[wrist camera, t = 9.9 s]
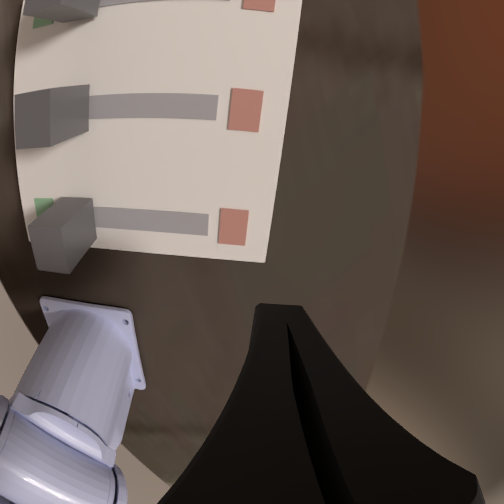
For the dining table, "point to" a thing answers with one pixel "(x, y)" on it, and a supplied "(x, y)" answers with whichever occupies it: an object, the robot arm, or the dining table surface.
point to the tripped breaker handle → (51, 116)
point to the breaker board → (157, 125)
